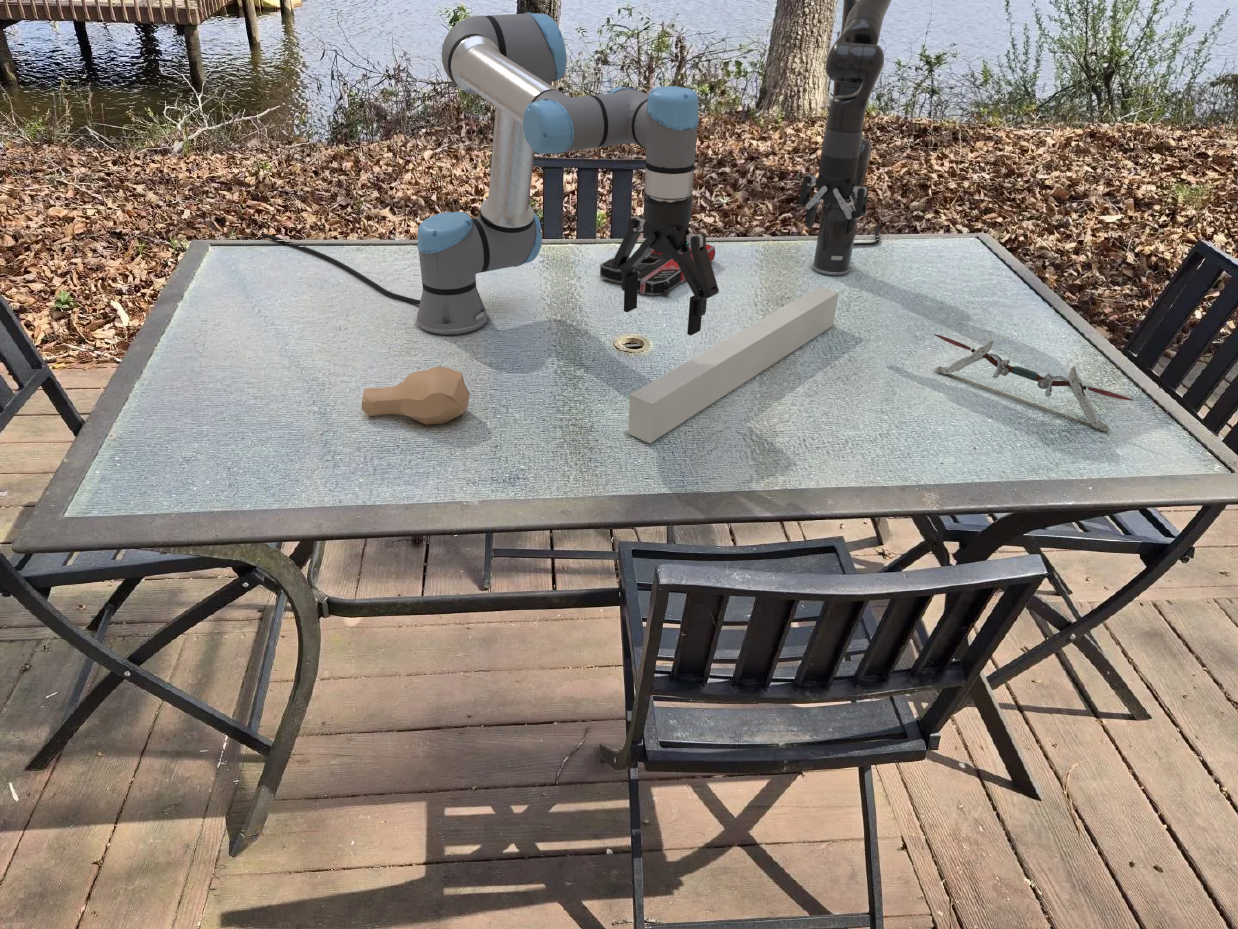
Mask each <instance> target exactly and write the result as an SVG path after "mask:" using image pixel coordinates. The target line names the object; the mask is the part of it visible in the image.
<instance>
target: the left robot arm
mask: <svg viewBox="0 0 1238 929" xmlns="http://www.w3.org/2000/svg"><path fill="white" fill-rule="evenodd" d="M567 62H568V60H567V49H566V45H565V40H564V37H563V34H562V31H561V30H560V28H559V25H558V24H557V22H556V21H555V20H554V19H553V18H552V17H551V16H550V15H548V14H546V13H534V12H533V13H532V12H529V11H527V12H524V13H512V14H511V13H510V14H508V13H507V14H494V15H474V16H473V15H472V16H470V17H466V18H464V19H462V20H460V21H459V22H457V23H456V24H455V25H454V26H452V28H450V30H449V31H448V32H447V34H446V36H445V38H444V41H443V43H442V48H441V63H442V67H443V69H444V72H445V74H446V76H447V77H448V78H449V80H450V81H451V82H452V83H453V84H454V85H455V86H456V87H457V88H459V89H460V90H462V91H463V92H464V93H467V94H469V95H479V96H481V97H482V98H483V99H485V100H486V101H487V102H488V103H490V104H491V105H493V106H495V112H494V124H493V135H492V136H493V138H492V150H491V163H490V172H489V187H488V196H487V197H488V198H486V199H484V200H483V201H482V202H481V204H480V210H479V216H477V217H471V216H470V215H469V213H466V212H463V211H453V212H452V211H446V212H440V213H437V214H434V215H432V216H429V217H427V218H426V219H424V220H423V221H422V222H421V223H420V224H419V226H418V227H417V247H416V248H417V251H418V258H419V267H420V275H421V276H420V278H421V284H422V292H421V297H420V299H416V298H412V297H408V296H404V295H401V294H398V293H394V292H392V291H389V290H388V289H385V288H384V287H382V286H381V285H379V284H378V283H376V282H374V281H373V280H371V279H369V278H368V277H367V276H365V275H363V274H362V273H360V272H358V271H357V270H355V269H354V268H351V267H350V266H348V265H346V264H344V263H343V262H341V261H339V260H337V259H336V258H333V257H331V256H329V255H327V254H325V253H322V252H320V251H317V250H315V249H313V248H310V247H307V246H304V247H299V246H302V245H301V244H299V245H294V244H289V243H294V242H292V241H290V242H285V241H277V242H279V243H280V244H284V243H287V244H286V245H287V246H290V247H292V248H293V247H294V248H296V249H299V250H302V251H303V252H304V251H305V252H307V253H309V254H313V255H314V256H317V257H319V258H322V259H324V260H326V261H328V262H330V263H332V264H335V265H336V266H338V267H340V268H342V269H343V270H345V271H347V272H349V273H351V274H352V275H354V276H355V277H357V278H358V279H361V280H362V281H364V282H365V283H366V284H368V285H369V286H371V287H373V288H375V289H376V290H378V291H379V292H381V293H382V294H384V295H386V296H388V297H391V298H393V299H397V300H400V301H404V302H408V303H411V304H415V305H418V310H417V317H416V318H417V325H418V326H419V328H420V329H421V330H423V331H424V332H427V333H430V334H433V335H440V336H459V335H465V334H469V333H473V332H476V331H477V330H480V329H481V328H483V327H484V326H485V325H486V323H487V320H488V316H487V310H486V306H485V304H484V302H483V299H482V298H481V295H480V293H479V291H478V288H477V278H476V277H477V276H476V275H477V274H482V273H486V272H492V271H497V270H502V269H508V268H515V267H519V266H522V265H525V264H529V263H531V262H533V261H534V260H535V259H536V258H537V257H538V255H539V254H540V251H541V249H542V245H543V244H542V243H543V233H542V232H541V230H542V224H541V221H540V219H539V217H538V215H537V214H536V213H535V211H534V208H533V207H532V206H531V204H530V195H531V187H532V177H533V170H534V163H535V154H538V155H549V154H550V155H551V154H552V155H560V154H563V153H570V152H575V151H582V150H583V151H584V150H588V149H589V150H590V149H596V148H605V147H610V146H611V147H612V146H618V145H619V146H620V145H629V144H632V145H636V146H639V147H641V148H643V149H645V168H644V169H645V170H644V189H643V190H644V193H645V194H646V195H645V196H644V197H643V215H642V214H639V215H636V216H634V217H631V218H629V219H628V223H627V230H626V232H625V235H624V237H623V239H622V241H621V243H620V244H619V247H618V249H617V251H616V254H615V255H614V257H613V258H614V260H613V262H612V265H613V267H614V268H616V267H617V268H618V269H620V272H621V273H622V283H621V284H620V285H621V291H623V312H625V313H629V312H631V311H633V310H636V309H637V308H638V272H636V271H634V272H633V270H635V269H637V268H636V267H637V266H638V265H639V264H640V263H641V261H642V260H643V259H644V258H645V257H647V255H648V254H649V253H650V252H651V251H652V250H654V252H656V253H662V254H664V255H665V256H671V257H672V259H673V260H674V261H675V262H677V264H678V266H679V267H680V269H681V271H682V273H683V275H684V277H685V279H686V281H685V282H686V283H687V284H688V287H689V288H690V291H691V292H692V294H693V295H692V296H690V297H689V305H688V320H687V331H686V332H687V335H688V336H693V335H695V334H697V333H699V332H701V331H702V330H701V328H702V317H703V316H705V315H706V313H707V305H708V304H707V302H708V299H710V298H712V297H714V296H716V295H717V294H719V293H720V290H719V286H718V283H717V279H716V276H715V273H714V268H713V266H712V261H711V262H710V259H709V256H708V252H707V249H706V244H707V235H706V233H704V232H701V233H698V234H697V233H691V232H690V229H689V227H690V226H689V225H690V222H691V219H692V208H693V198H692V197H691V196H692V195H693V191H694V190H693V189H694V176H695V162H696V154H697V153H696V152H697V141H698V140H697V138H698V127H699V122H700V119H699V117H700V116H699V96H698V94H697V92H696V91H695V90H693V89H692V88H689V87H681V86H676V85H666V86H665V85H664V86H656V87H654V88H652V89H651V90H650V91H649V93H646V92H644V91H641V90H639V89H636V88H635V87H634V88H633V87H625V86H617V87H613V88H612V89H610V90H609V91H607V92H606V93H603V94H595V95H584V96H574V97H573V96H569V95H567V94H565V93H563V92H562V91H560V90H559V89H557V88H556V87H554V86H552V82H558V81H559V80H561V79H562V78H563V77H564V75H565V73H566V70H567ZM642 232H644V235H645V237H646V238H645V239H644V240H643V241H642V242H641V244H640V245H639V247H638V249H636V250H635V251H634V253H633V254H632V252H633V250H634V248H635V246H636V245H637V242H638V240H639V238H640V236H641V234H642ZM260 236H261V237H262V238H265V239H269V240H272V241H275V240H284V239H283V238H280V237H277V236H275V235H271V234H268V233H264V232H261V233H260ZM687 242H689V245H687ZM688 246H689V247H688ZM689 248H691V251H690V249H689ZM681 250H682V252H683V253H682V254H679V252H680V251H681ZM691 253H692V257H693V259H692V257H691ZM631 254H632V255H631ZM629 257H630V258H629ZM628 258H629V259H628ZM693 260H694V261H693Z"/></svg>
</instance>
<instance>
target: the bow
mask: <svg viewBox="0 0 1238 929" xmlns="http://www.w3.org/2000/svg"><path fill="white" fill-rule="evenodd" d="M934 336H935V337H937V338H939V339H941V340H943V341H944V342H946V343H948V344H951V345H953V346H956V347H959V348H961V349H963V350H964V349H965V350H968V351H970V352H971V353H972V354H970V355H968V356H965V357H963V358H960V359H958V360H956V361H954V362H953V363H952V364H951V365H949V366H937V367H935V371H936V372H938V373H939V374H942V375H949V376H951V377H954V378H957V379H959V380H962V381H965V382H968V383H970V384H971V383H972V384H973V385H975V386H979V387H983V388H985V389H988V390H991V391H994V392H996V393H999V394H1002V395H1005V396H1007V397H1011V398H1013V399H1016V400H1019V401H1022V402H1024V403H1027V404H1030V405H1033V406H1036V407H1039V408H1041V409H1044V410H1047V411H1050V412H1053V413H1054V414H1059V415H1061V416H1064V417H1067V418H1069V419H1072V420H1075V421H1078V422H1081V423H1084V424H1087V425H1089V426H1092V427H1093V428H1095V429H1097V430H1099V431H1103V432H1107V431H1108V430H1109V429H1110V426H1108V425H1107V424H1105V423H1103V421H1101V420H1100V419H1098V415H1097V412H1096V409H1095V408H1094V405H1093V404H1092V402H1091V400H1090V399H1089V398H1088V396H1086V394H1085V390H1088V391H1090V392H1092V393H1096V394H1099V395H1102V396H1105V397H1110V398H1114V399H1118V400H1125V401H1130V402H1131V401H1132V402H1133V401H1134V399H1132V398H1131V397H1127V396H1124V395H1121V394H1118V393H1116V392H1112V391H1109V390H1105V389H1101V388H1098V387H1093V386H1087V385H1083V384H1082V380H1081V378H1080V376H1079V375H1078V373H1077V368H1076V366H1074V365H1073V366H1072V367H1071V368H1070V371H1069V374H1068V378H1067V377H1065V376H1062V375H1055V376H1054V375H1053V374H1051V373H1050V372H1047V374H1045V375H1044V376H1041V375H1040V374H1039V373H1038V372H1036V371H1035V370H1031V369H1029V368H1026V367H1022V366H1019V365H1013V366H1012V365H1010V363H1011V360H1010V359H1009V358H1008V359H1002V357H1000V355H998V354H996V353H992V352H991V353H989V352H990V351H991V350H992V347H993V344H994V339H991V340H990V341H989V342H987V343H986V344H984V345H983V346H980V347H979V348H977V349H975V348H971V347H970V346H969V345H967V344H964V343H963V342H962V343H961V342H959V341H957V340H954V339H951V338H949V337H946V336H943V335H939V334H936V333H934ZM983 359H985V360H987V361H988V363H990V364H991V365H992V366H993V367H995V368H996V369H995V371H994V372H993V375H992V377H991V378H992V379H995V380H997V379H998V378H999V376H1000V375H1001V376H1003V377H1007V375H1009V373H1010V374H1013V375H1015V376H1019V377H1021V378H1025V379H1027V380H1030V381H1034V382H1037V384H1036V385H1037V387H1038V388H1039V389H1041V390H1045V391H1044V397H1047V398H1050V397H1051V396H1052V391H1053V390H1052V387H1068V388H1069V389H1070V390H1071V392H1072V394H1073V396H1075V398H1076V400H1077V402H1078V404H1079V406H1080V408H1081V410H1082V412H1083V415H1084V416H1085V418H1086V419H1087V422H1086V421H1083V420H1081V419H1078V418H1075V417H1072V416H1071V415H1070V416H1069V415H1067V414H1064V413H1061V412H1057V411H1056V410H1052V409H1050V408H1047V407H1045V406H1042V405H1038V404H1035V403H1033V402H1030V401H1027V400H1025V399H1021V398H1019V397H1016V396H1014V395H1010V394H1007V393H1004V392H1002V391H999V390H996V389H993V388H991V387H987V386H985V385H983V384H979V383H976V382H974V381H971V380H968V379H965V378H963V377H960V376H957V375H954V374H953V373H955V372H959V371H961V370H962V369H964V368H965V367H968V366H970V365H971V364H973V363H976V362H978V361H980V360H983Z"/></svg>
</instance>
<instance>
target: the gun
mask: <svg viewBox="0 0 1238 929" xmlns="http://www.w3.org/2000/svg"><path fill="white" fill-rule="evenodd" d="M687 245H689V242H687ZM688 247H689V246H688ZM689 249H690V251H691V248H689ZM706 249H707V252H708V256H709V259H710V262H711V263H712V262H713V261H714V259H715V256H716V247H715V246H714V245H711V244H708V243H706ZM682 253H683V252H682V250H681V251H680V252H679V254H682ZM630 257H631V256H629V258H630ZM691 257H692V253H691ZM614 258H615V257H611V258H610V259H608V260H606V261H604V262H602V263H600V264H599V265H600V266H599V267H600V268H599V277H600V278H602V279H604V280H607V281H610V282H613V283H618V284H622V273H621V272H620V269H618V268H617V267H616V268H614V267H613V265H612V262H613V260H614ZM629 258H628V259H629ZM692 259H693V257H692ZM693 261H694V260H693ZM636 268H637V269H635V270H633V272H634V271H636V272H638V291H637V293H638V292H639V294H640V295H648V296H657V295H663V296H666V297H668V296H669V294H670V290H672V289H673V288H674V287H676V286H678V285H679V284H682V283H684V282H687V281H686V279H685V277H684V275H683V273H682V271H681V269H680V267H679V266H678V264H677V262H675V261H674V260H673V259H672V257H671V256H665V255H664V254H662V253H656V252H654V250H652V251H651V252H650V253H649V254H648V255H647V256H646V257H645V258H644V259H643V260H642V261H641V263H640V264H639V265H638V266H637V267H636Z"/></svg>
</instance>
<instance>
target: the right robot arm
mask: <svg viewBox="0 0 1238 929" xmlns="http://www.w3.org/2000/svg"><path fill="white" fill-rule="evenodd" d="M891 2H892V0H842V3H843V4H842V17H841V18H842V19H841V28H840V34H839V37H838V38H837V39H836V41H834V43H833V45H832V46H831V47H830V50H829V52H828V54H827V58H826V61H825V73H826V75H827V76H828V78H829V79H830V80H832V81H833V89H832V90H833V91H832V98H831V99H830V102H829V108H828V115H827V120H826V127H825V132H824V135H823V138H822V139H823V140H822V144H821V153H820V159H819V166H818V176H815V175H814V174H813V173H810V174H807V175H805V176H803V177H802V183H801V188H800V192H799V193H800V194H799V199H798V203H799V205H803V206H804V207H805V208H806V211H805V218H804V222H805V224H806V227H807V228H812V227H813V226H814V225H815V222H816V216H817V209H818V208H817V207H816V206H817V205H818V204H820V203H821V202H822V207H821V213H820V219H819V225H818V226H819V227H818V233H817V238H816V243H815V244H816V246H815V252H814V256H813V257H814V259H813V263H812V269H813V271H815V272H817V273H818V274H822V275H825V276H832V277H833V276H837V277H838V276H844V275H846V274H848V273H849V272H850V266H851V260H852V255H853V250H854V247H868V246H875V245H877V244H878V243H879V242H880V236H879V234H880V230H881V229H882V228H883V224H882V223H881V222H880V223H879V224H878V225H877V228H876V231H875V235H874V236H875V239H876V240H875V241H870V242H855V238H856V232H857V228H858V221H859V218H861V217H863V216H865V215H866V213H867V206H868V205H867V204H868V198H869V191H870V190H869V187H868V186H867V185H865V181H866V177H867V172H868V168H869V163H870V160H871V154H872V143H871V141H870V140H869V139H867V138H863V128H864V123H865V118H866V112H867V107H868V103H869V100H870V97H871V95H872V92H873V90H874V88H875V86H876V83H877V81H878V79H879V77H880V74H881V72H882V70H883V67H884V64H885V52H884V51H883V48H882V47H881V46H880V45H879V44H878V43H879V41H880V36H881V31H882V26H883V23H884V19H885V17H886V16H885V15H886V13H887V11H888V9H889V7H890V5H891ZM814 186H815V187H816V189H817V192H816V193H815V194H814V195H813V196H812V197H811V195H812V190H813V187H814ZM876 236H879V237H876ZM877 239H879V240H877Z"/></svg>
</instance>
